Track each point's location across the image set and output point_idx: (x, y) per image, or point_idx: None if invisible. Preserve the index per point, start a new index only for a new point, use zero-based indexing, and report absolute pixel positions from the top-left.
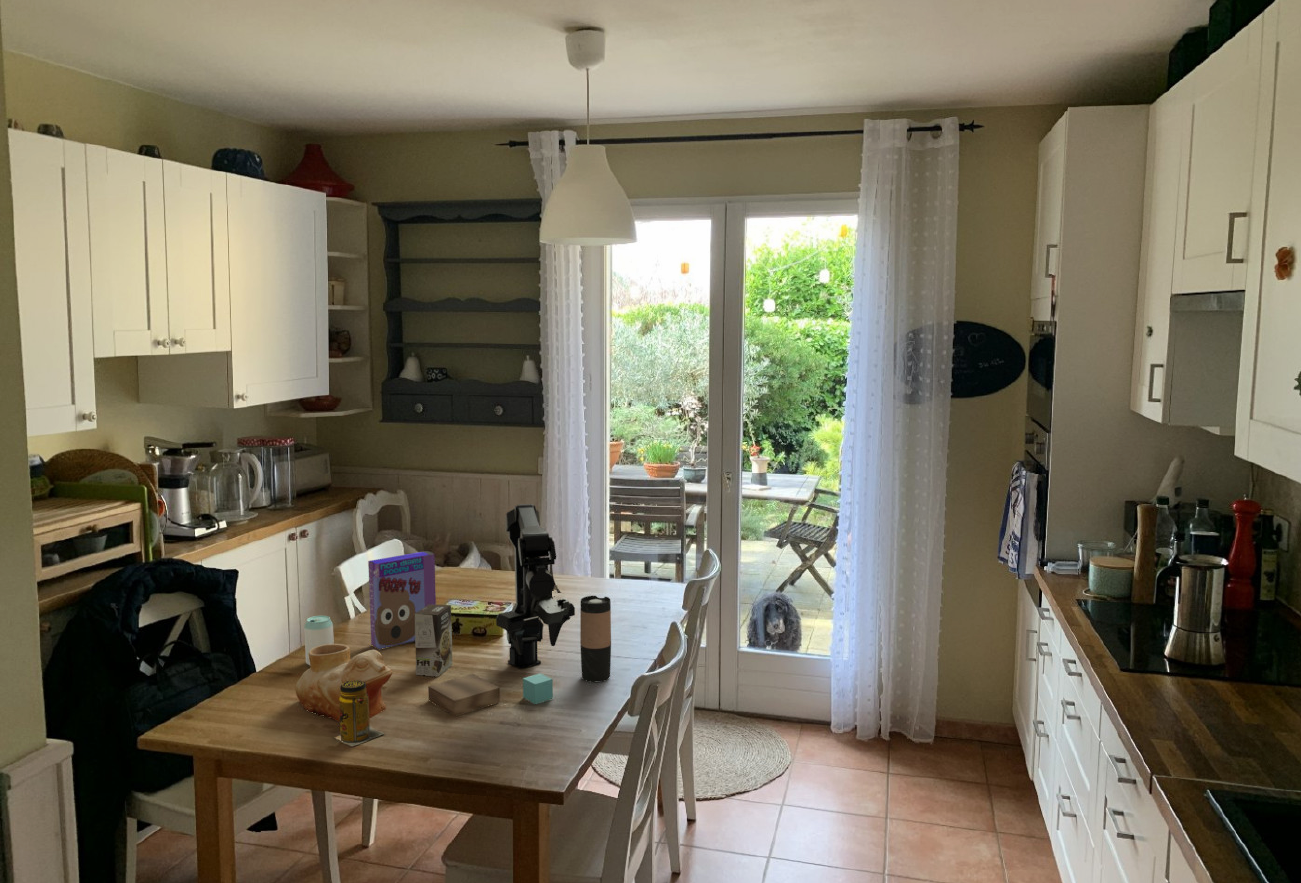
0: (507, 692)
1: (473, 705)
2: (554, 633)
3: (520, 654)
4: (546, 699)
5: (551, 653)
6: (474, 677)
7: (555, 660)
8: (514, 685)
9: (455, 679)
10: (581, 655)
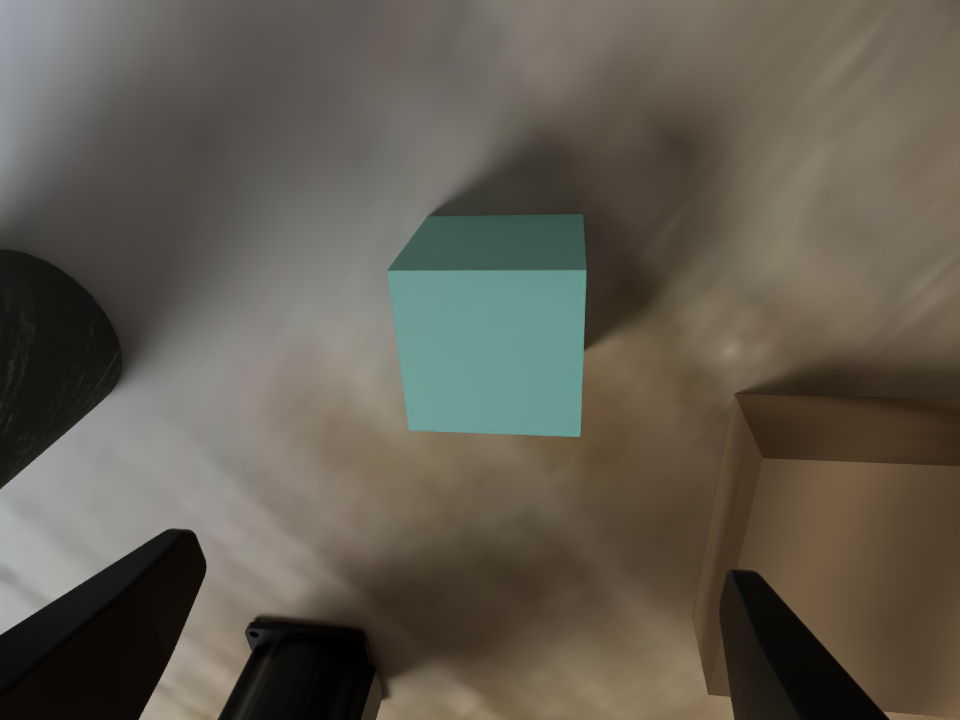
0: (593, 476)
1: None
2: (29, 702)
3: (758, 577)
4: (480, 219)
5: None
6: None
7: None
8: (501, 520)
9: None
10: (2, 458)
